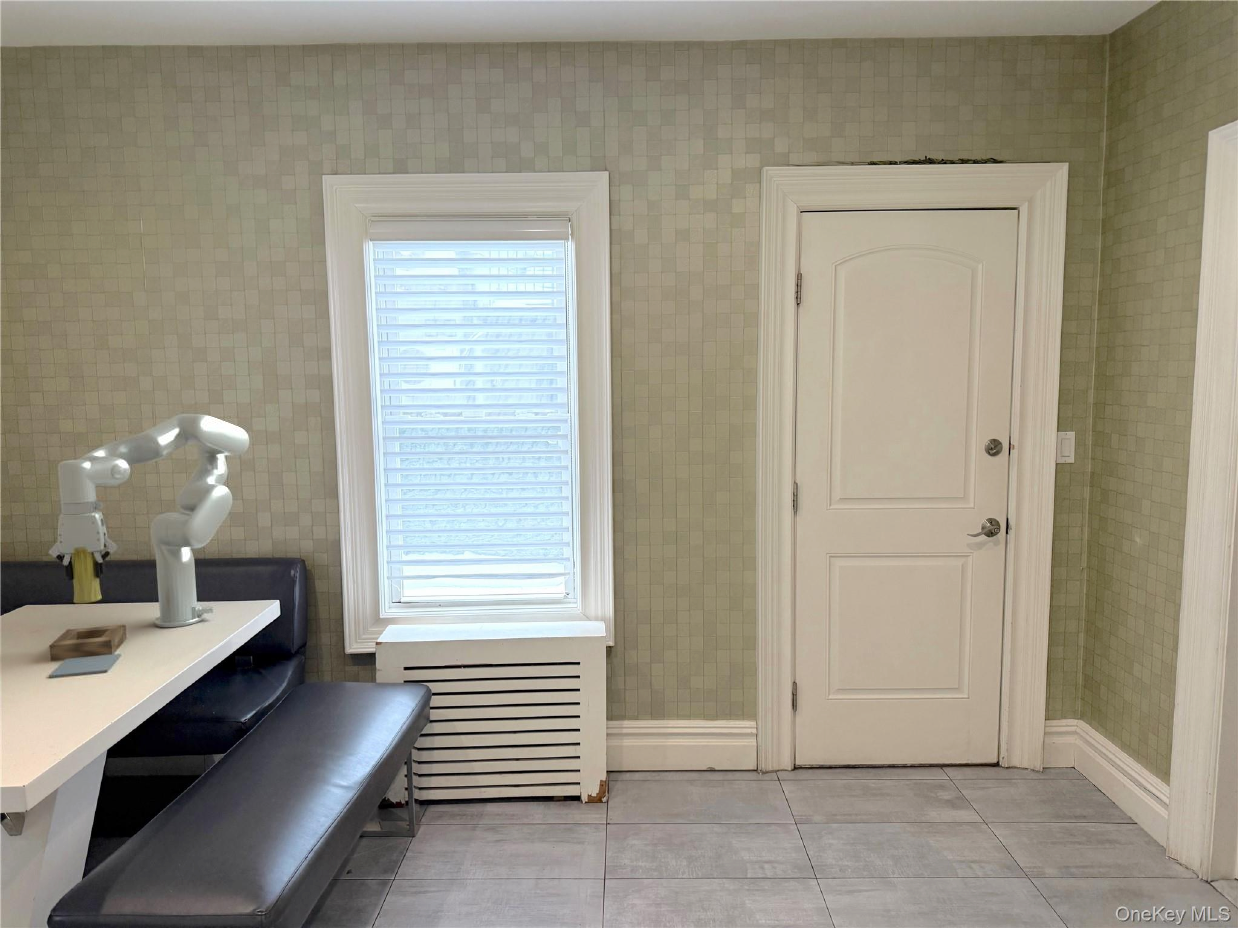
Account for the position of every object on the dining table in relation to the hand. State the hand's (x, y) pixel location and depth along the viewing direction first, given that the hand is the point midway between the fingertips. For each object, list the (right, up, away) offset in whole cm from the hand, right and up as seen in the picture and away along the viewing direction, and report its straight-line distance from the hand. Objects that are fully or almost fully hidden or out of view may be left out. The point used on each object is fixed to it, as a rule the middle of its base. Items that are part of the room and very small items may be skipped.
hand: (86, 577), depth 210 cm
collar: (0, -19, +2) cm, 19 cm away
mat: (+7, -20, -11) cm, 24 cm away
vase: (0, -6, +1) cm, 6 cm away
